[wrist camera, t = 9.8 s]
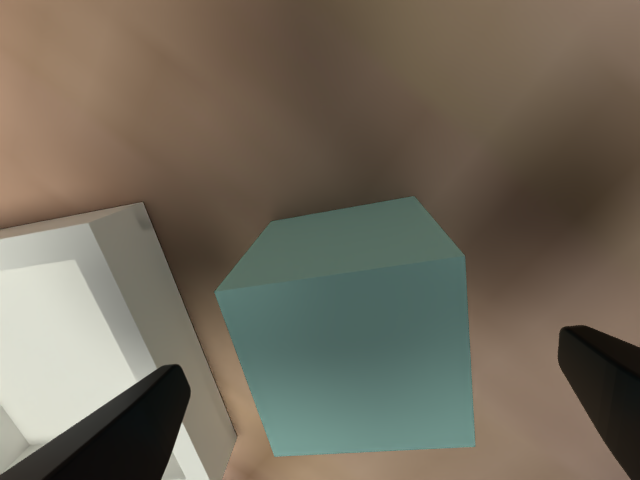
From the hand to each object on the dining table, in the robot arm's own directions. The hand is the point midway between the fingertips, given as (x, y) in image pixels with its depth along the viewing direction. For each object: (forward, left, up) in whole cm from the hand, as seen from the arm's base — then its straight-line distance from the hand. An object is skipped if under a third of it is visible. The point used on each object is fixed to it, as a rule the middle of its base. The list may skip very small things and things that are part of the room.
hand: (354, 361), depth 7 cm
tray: (+13, +2, -4) cm, 14 cm away
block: (0, 0, -4) cm, 5 cm away
